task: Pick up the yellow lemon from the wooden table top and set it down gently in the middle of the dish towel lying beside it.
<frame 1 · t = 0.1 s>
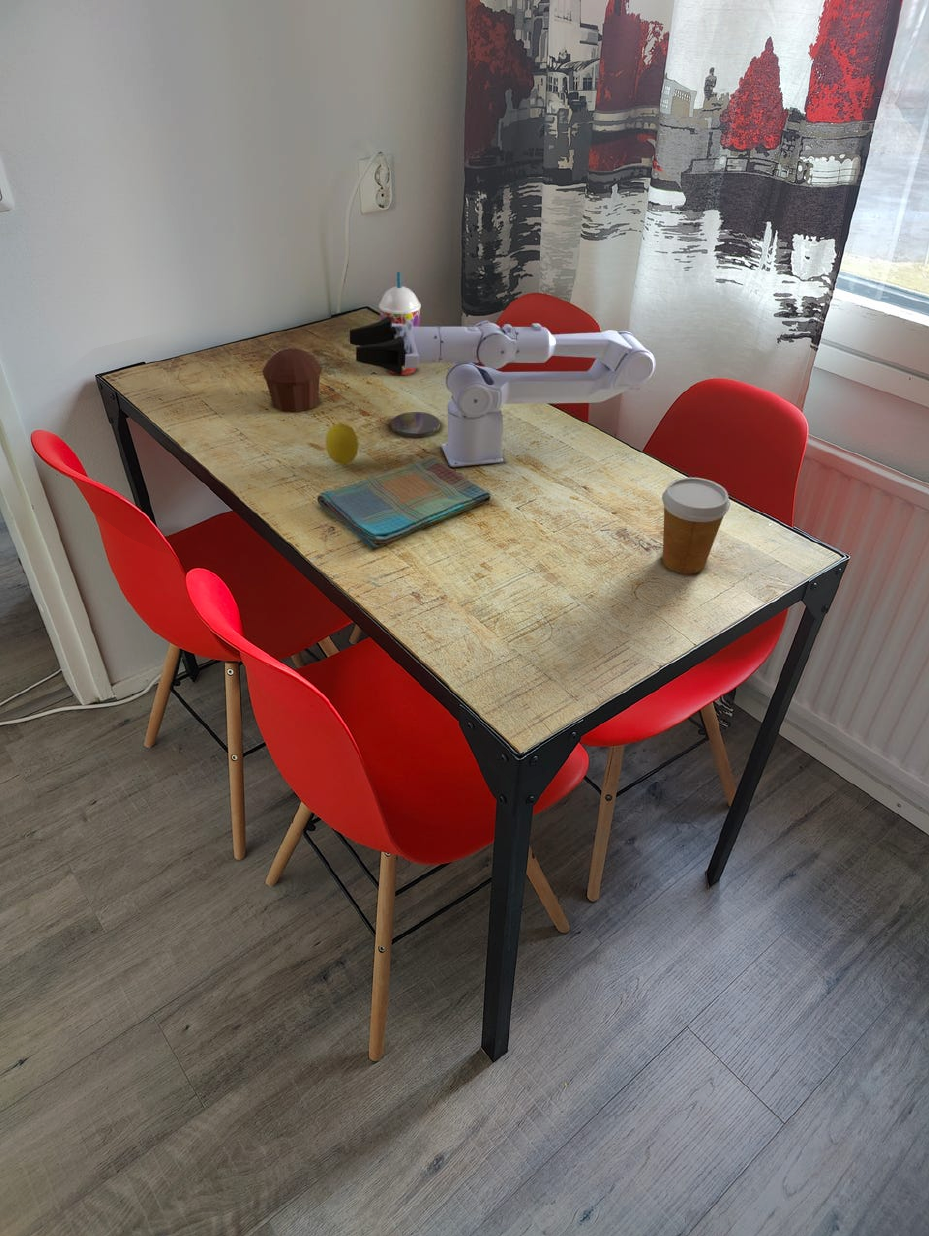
hand: (352, 345, 143), 22 cm above the table, tool horizontal, fingers open, 7 cm apart
smoothie: (401, 370, 189), on the table
dish towel: (404, 505, 147), on the table
disposable coffee cup: (683, 563, 135), on the table
lemon: (343, 466, 157), on the table
muffin: (295, 402, 176), on the table
slate coaster: (415, 426, 168), on the table
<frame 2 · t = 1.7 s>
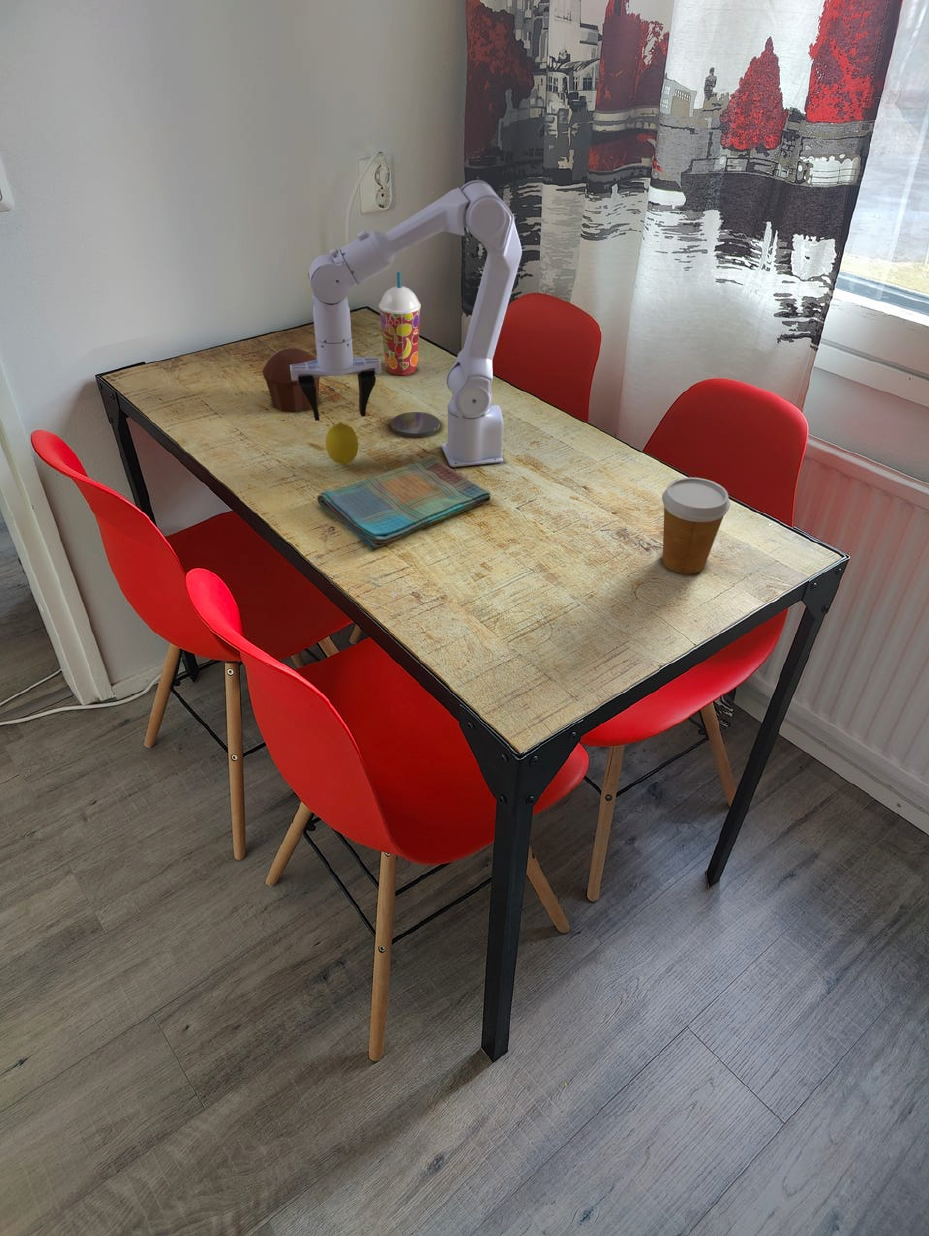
hand: (339, 416, 151), 9 cm above the table, tool pointing down, fingers open, 7 cm apart
nothing on the table moved.
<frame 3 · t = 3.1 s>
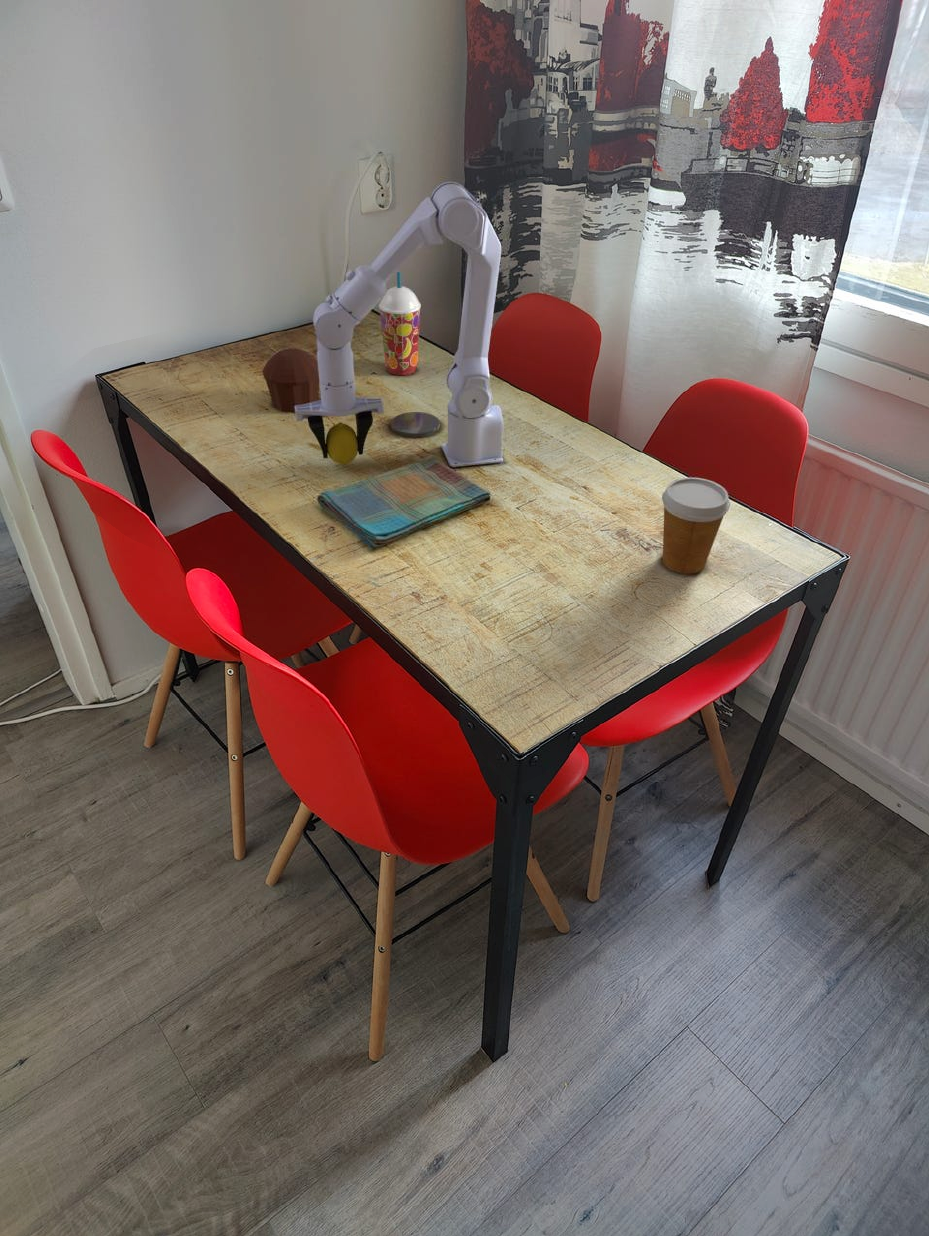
hand: (342, 453, 155), 2 cm above the table, tool pointing down, fingers closed on lemon, 5 cm apart
lemon: (343, 466, 157), on the table, touching gripper
everything else where it was.
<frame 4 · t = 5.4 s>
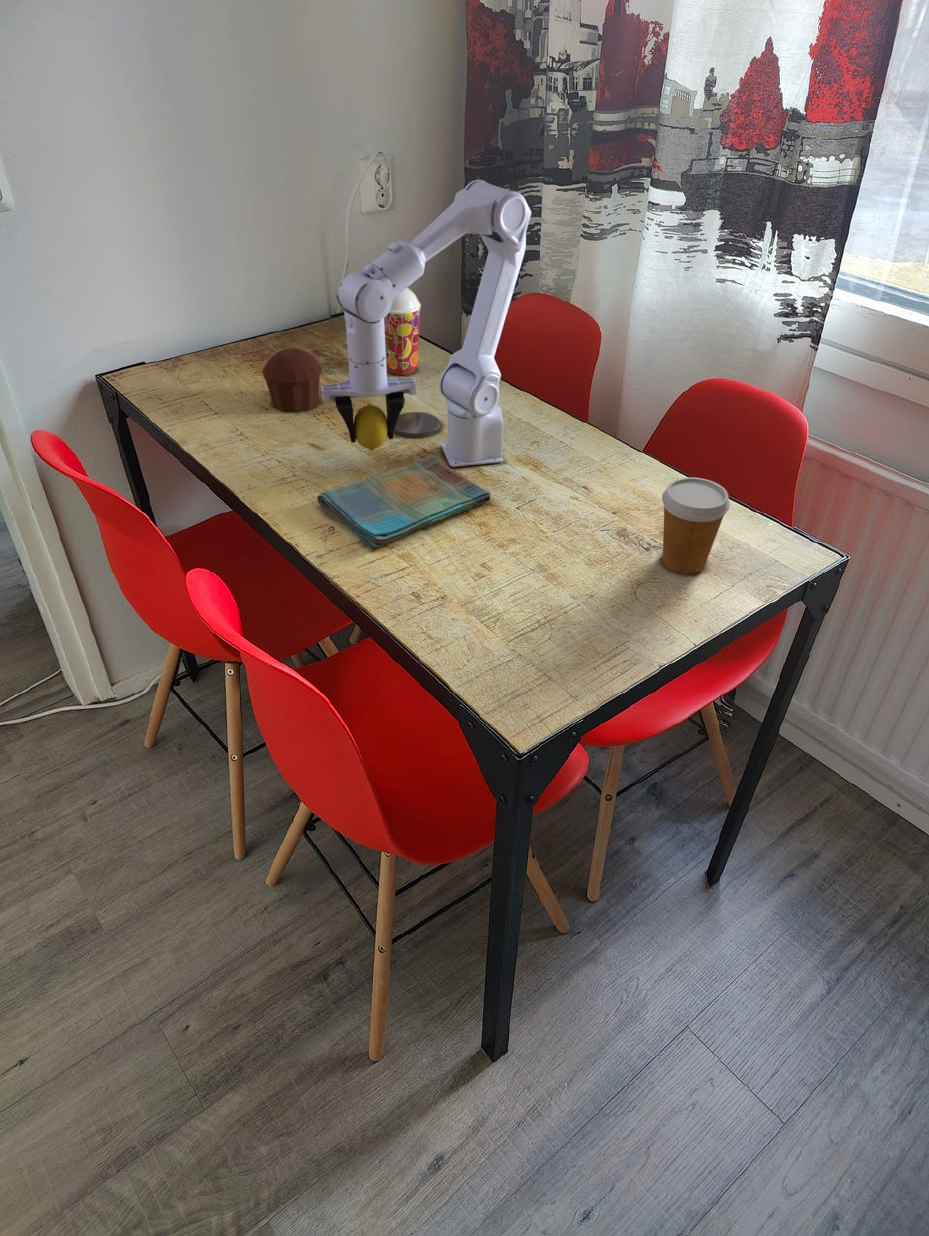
hand: (371, 437, 145), 9 cm above the table, tool pointing down, fingers closed on lemon, 5 cm apart
lemon: (372, 451, 146), point 7 cm above the table, touching gripper
everything else where it was.
when the fingers open (5 cm above the table, at t = 7.9 s): lemon stays where it is, resting on dish towel.
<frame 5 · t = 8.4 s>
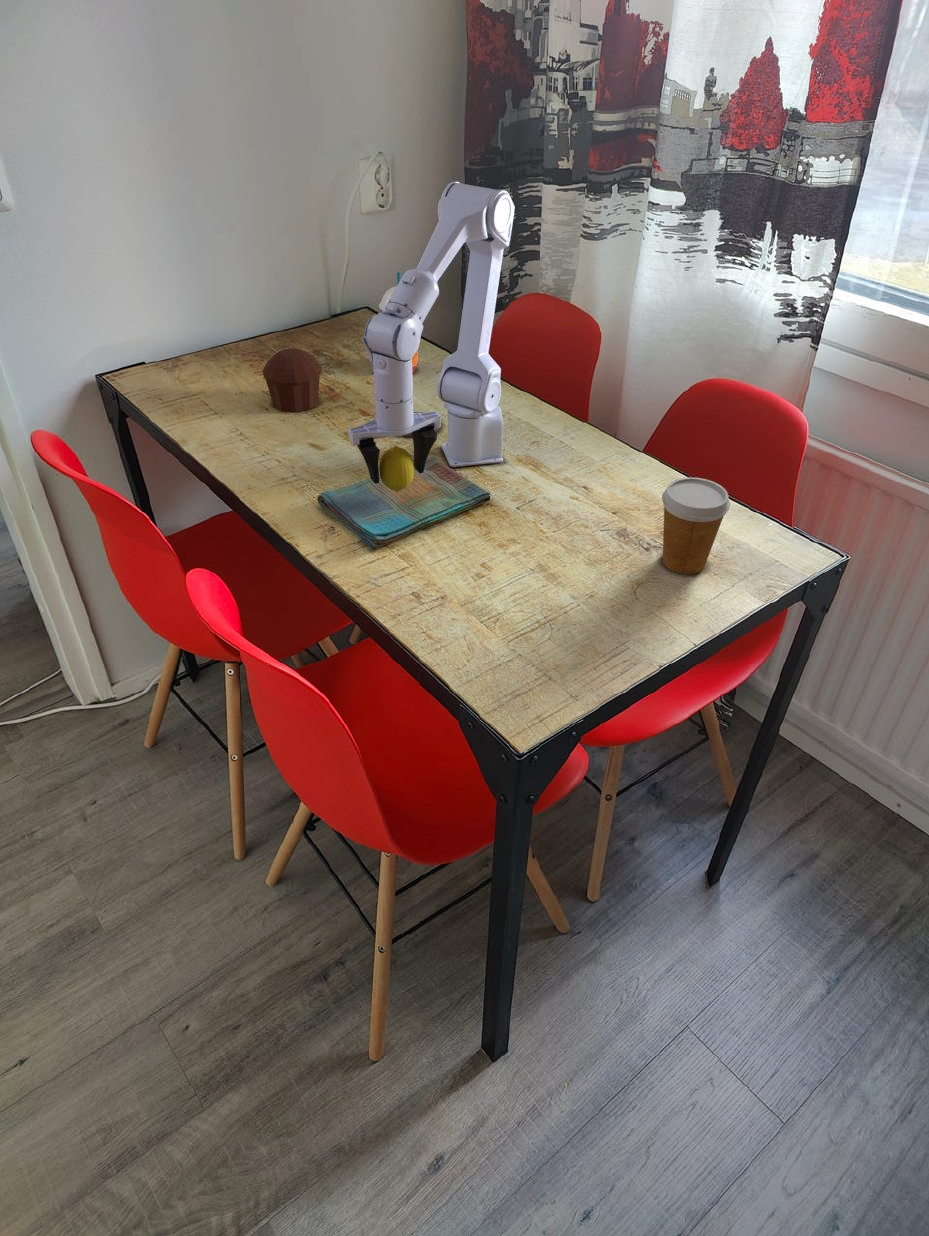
hand: (397, 475, 143), 5 cm above the table, tool pointing down, fingers open, 7 cm apart
dish towel: (404, 505, 147), on the table, touching lemon
lemon: (397, 492, 145), point 2 cm above the table, touching dish towel
everything else where it was.
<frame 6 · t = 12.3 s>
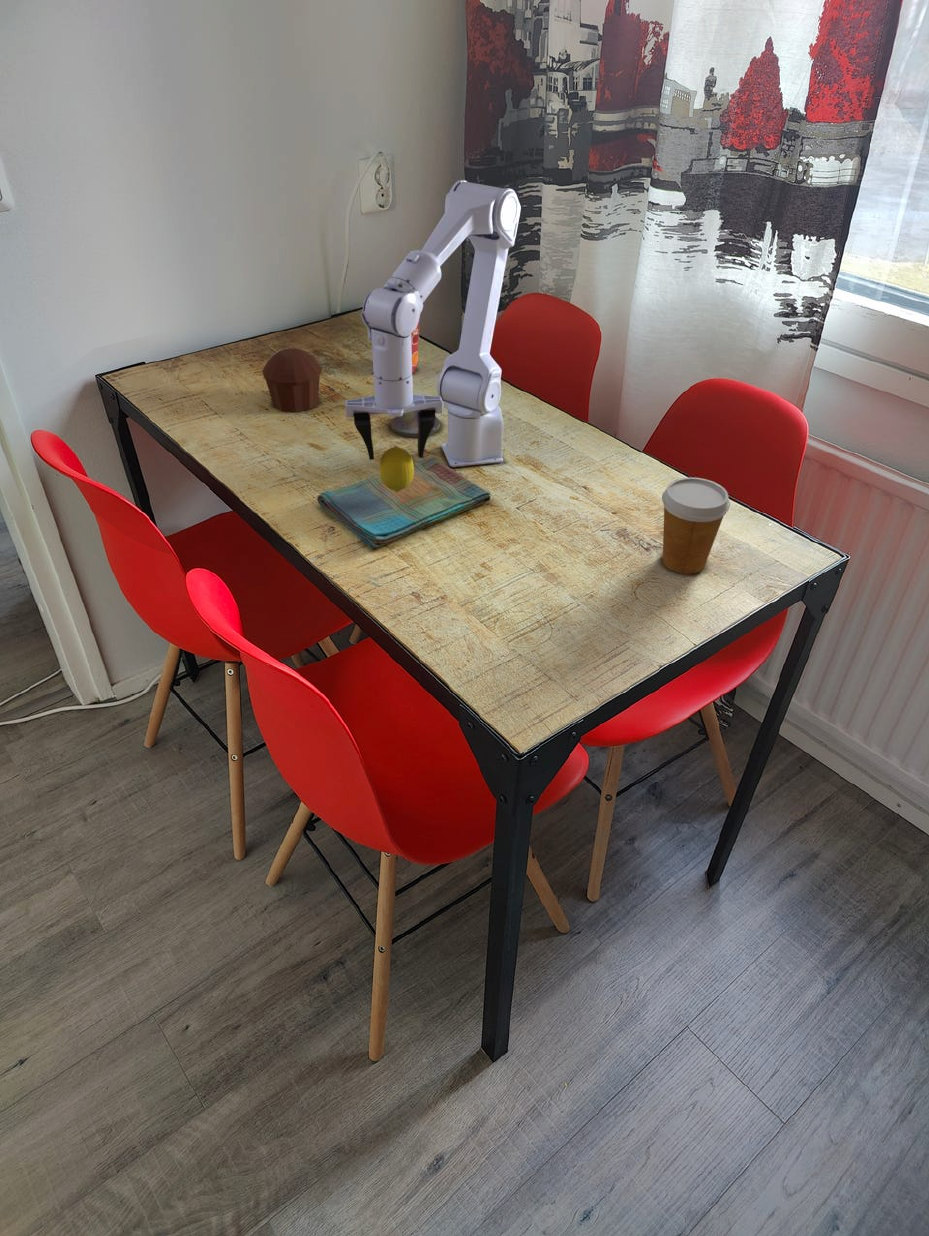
hand: (396, 455, 141), 9 cm above the table, tool pointing down, fingers open, 7 cm apart
nothing on the table moved.
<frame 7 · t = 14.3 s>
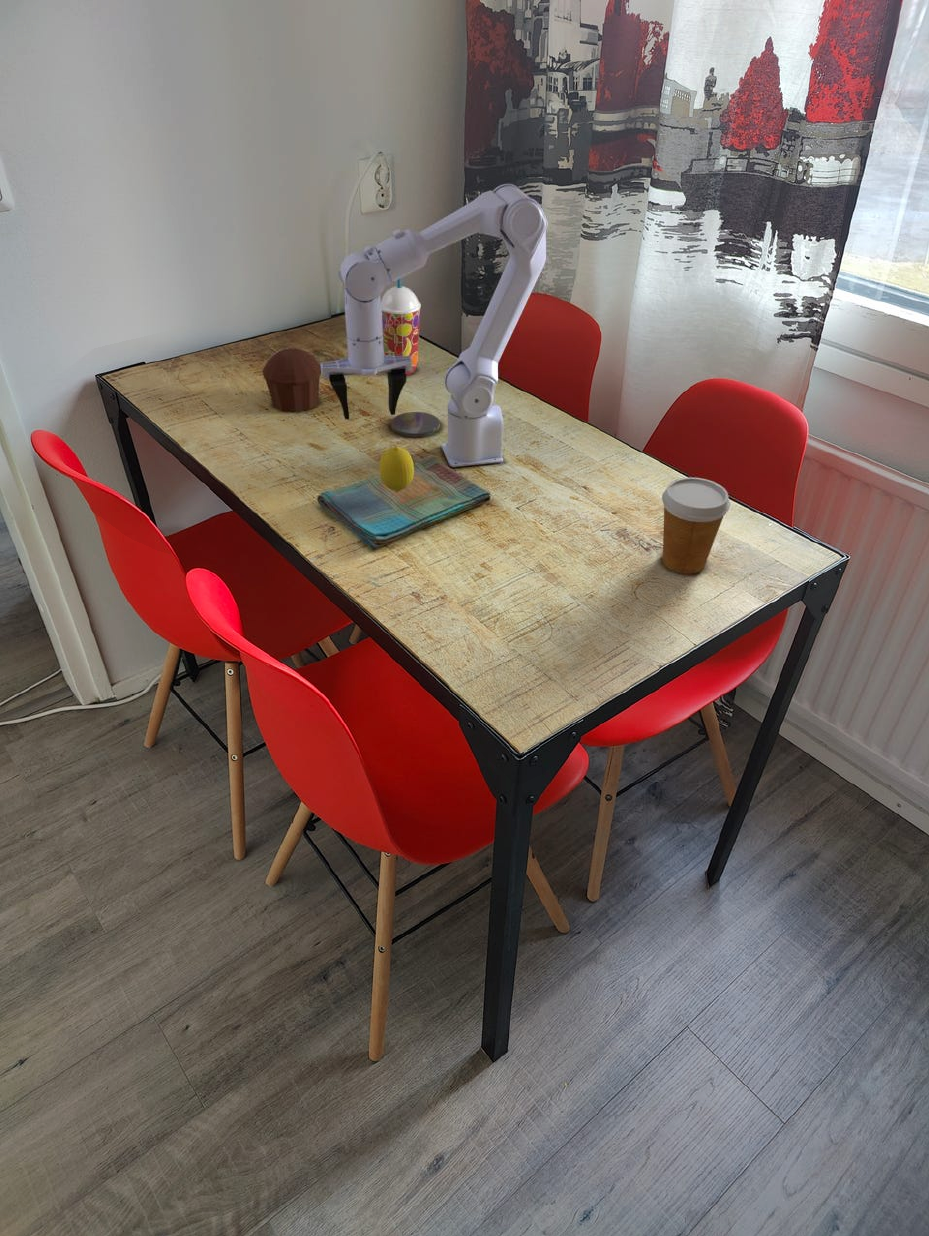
hand: (369, 414, 150), 10 cm above the table, tool pointing down, fingers open, 7 cm apart
nothing on the table moved.
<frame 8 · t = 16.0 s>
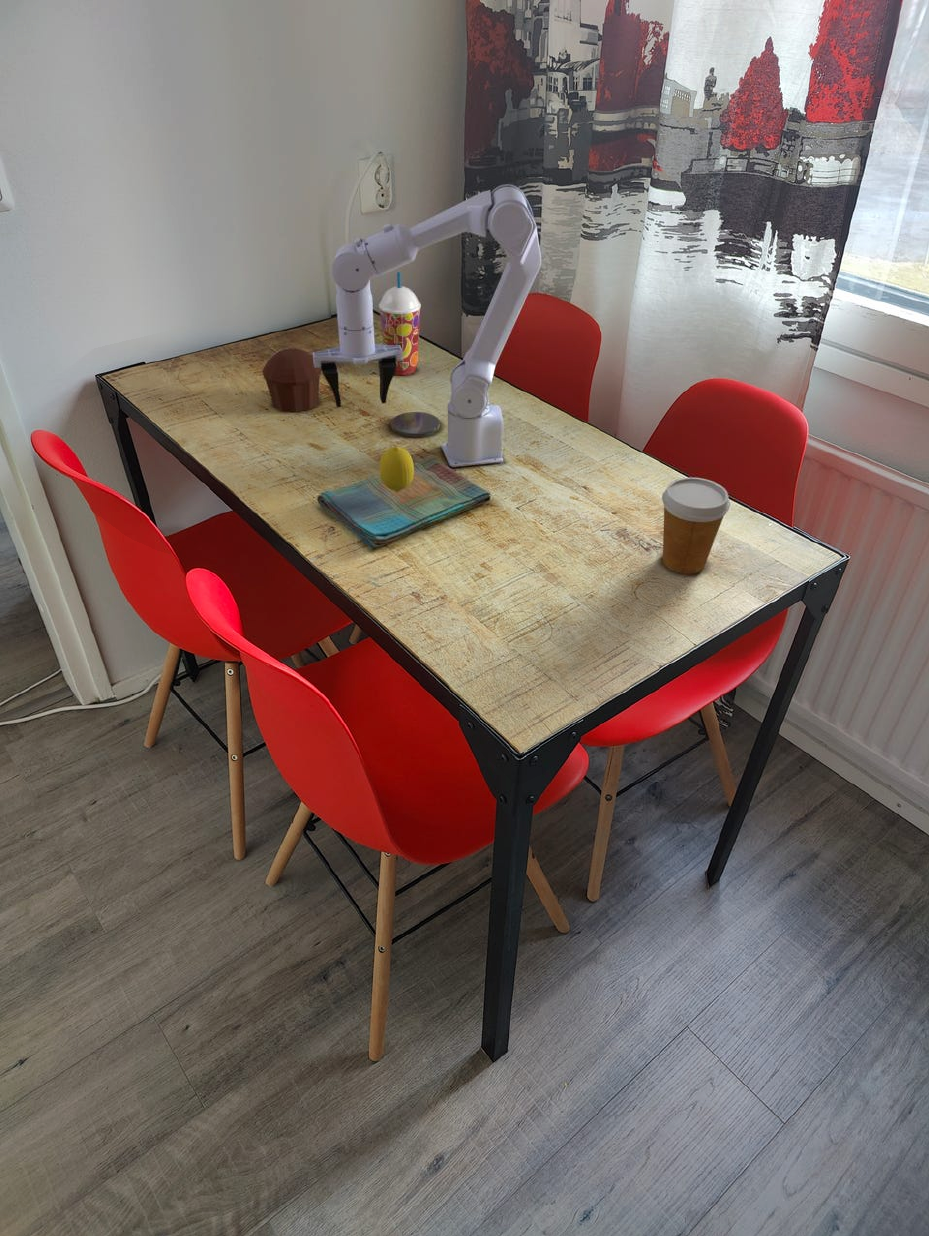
hand: (360, 402, 153), 10 cm above the table, tool pointing down, fingers open, 7 cm apart
nothing on the table moved.
at the end: lemon inside the target area on the dish towel (1.0 cm from its centre), point 2.6 cm above the dish towel's base; lemon touching dish towel; the gripper is holding nothing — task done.
